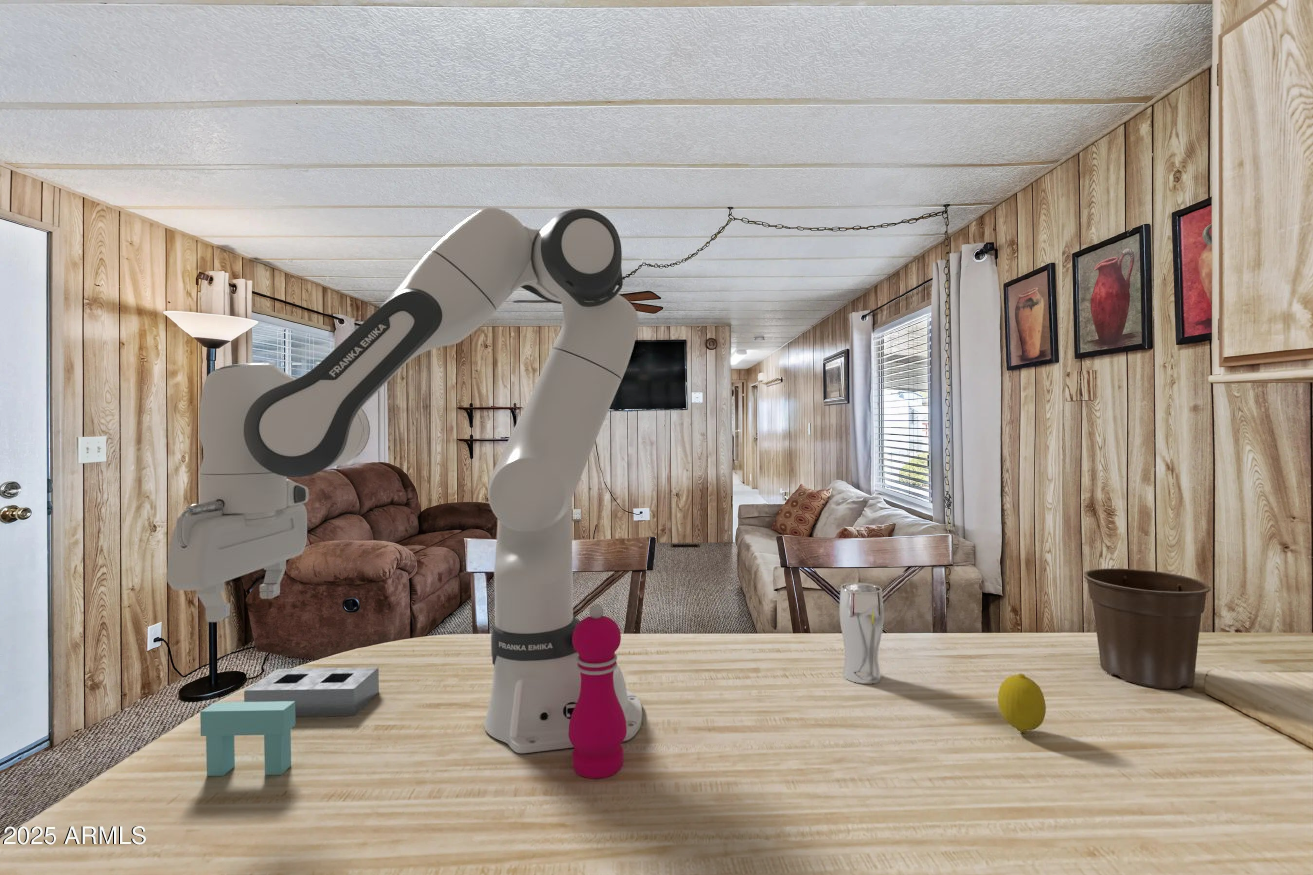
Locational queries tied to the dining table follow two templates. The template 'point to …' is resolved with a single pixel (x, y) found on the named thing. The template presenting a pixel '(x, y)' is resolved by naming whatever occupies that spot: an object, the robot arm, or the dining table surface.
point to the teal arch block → (248, 733)
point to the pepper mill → (597, 699)
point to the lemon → (1021, 702)
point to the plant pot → (1147, 624)
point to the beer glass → (861, 631)
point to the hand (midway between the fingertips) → (245, 607)
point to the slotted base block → (318, 690)
